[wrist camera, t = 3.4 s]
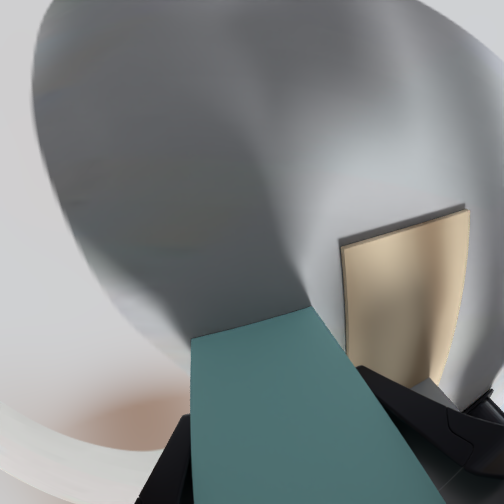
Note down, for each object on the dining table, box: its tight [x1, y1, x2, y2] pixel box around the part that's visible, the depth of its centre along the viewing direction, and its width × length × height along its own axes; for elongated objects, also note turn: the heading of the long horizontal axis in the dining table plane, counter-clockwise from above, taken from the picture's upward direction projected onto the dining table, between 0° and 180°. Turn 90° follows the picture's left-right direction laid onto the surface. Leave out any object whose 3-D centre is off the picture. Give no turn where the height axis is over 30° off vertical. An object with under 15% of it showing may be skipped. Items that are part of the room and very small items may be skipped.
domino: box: [190, 306, 446, 504], centre depth 6 cm, size 5×2×10 cm, turn 102°
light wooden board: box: [341, 209, 470, 389], centre depth 16 cm, size 8×30×1 cm, turn 12°
